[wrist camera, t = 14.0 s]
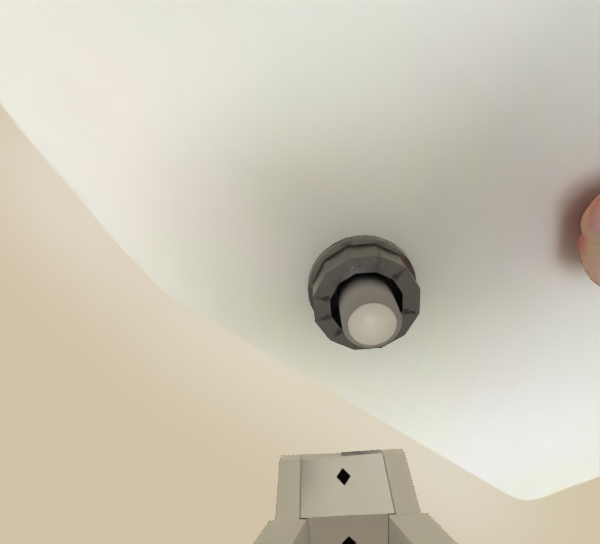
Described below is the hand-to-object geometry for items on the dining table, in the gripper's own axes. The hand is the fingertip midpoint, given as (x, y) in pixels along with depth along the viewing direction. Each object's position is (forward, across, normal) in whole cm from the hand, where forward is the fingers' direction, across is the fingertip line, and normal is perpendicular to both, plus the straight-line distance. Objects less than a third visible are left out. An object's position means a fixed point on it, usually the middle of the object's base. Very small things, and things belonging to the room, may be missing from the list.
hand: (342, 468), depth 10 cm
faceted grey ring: (+29, -4, +10) cm, 31 cm away
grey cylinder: (+28, -4, +10) cm, 30 cm away
